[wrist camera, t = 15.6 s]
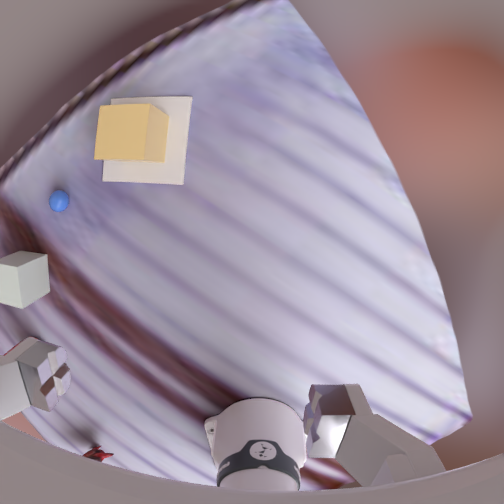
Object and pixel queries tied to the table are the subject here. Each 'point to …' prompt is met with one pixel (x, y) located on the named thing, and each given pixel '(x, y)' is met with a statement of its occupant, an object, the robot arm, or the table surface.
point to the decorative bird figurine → (97, 454)
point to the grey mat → (175, 145)
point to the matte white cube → (23, 278)
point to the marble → (58, 201)
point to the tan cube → (131, 133)
